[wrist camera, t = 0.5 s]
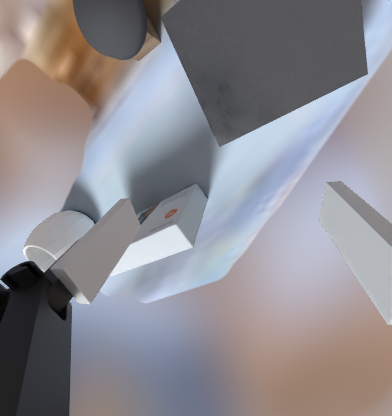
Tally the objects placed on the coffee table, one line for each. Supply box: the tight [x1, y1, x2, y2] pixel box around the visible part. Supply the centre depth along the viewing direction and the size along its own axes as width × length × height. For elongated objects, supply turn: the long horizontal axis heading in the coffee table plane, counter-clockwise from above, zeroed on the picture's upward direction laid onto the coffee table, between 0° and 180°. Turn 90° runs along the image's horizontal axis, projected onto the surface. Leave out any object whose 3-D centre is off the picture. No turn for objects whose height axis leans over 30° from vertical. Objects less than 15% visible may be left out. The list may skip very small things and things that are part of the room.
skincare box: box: [109, 183, 208, 277], centre depth 38 cm, size 21×6×16 cm, turn 123°
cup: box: [23, 210, 95, 271], centre depth 47 cm, size 13×13×14 cm
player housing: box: [161, 0, 368, 147], centre depth 24 cm, size 16×18×8 cm
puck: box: [73, 0, 147, 60], centre depth 22 cm, size 8×8×2 cm
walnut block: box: [133, 12, 161, 61], centre depth 26 cm, size 4×4×7 cm
